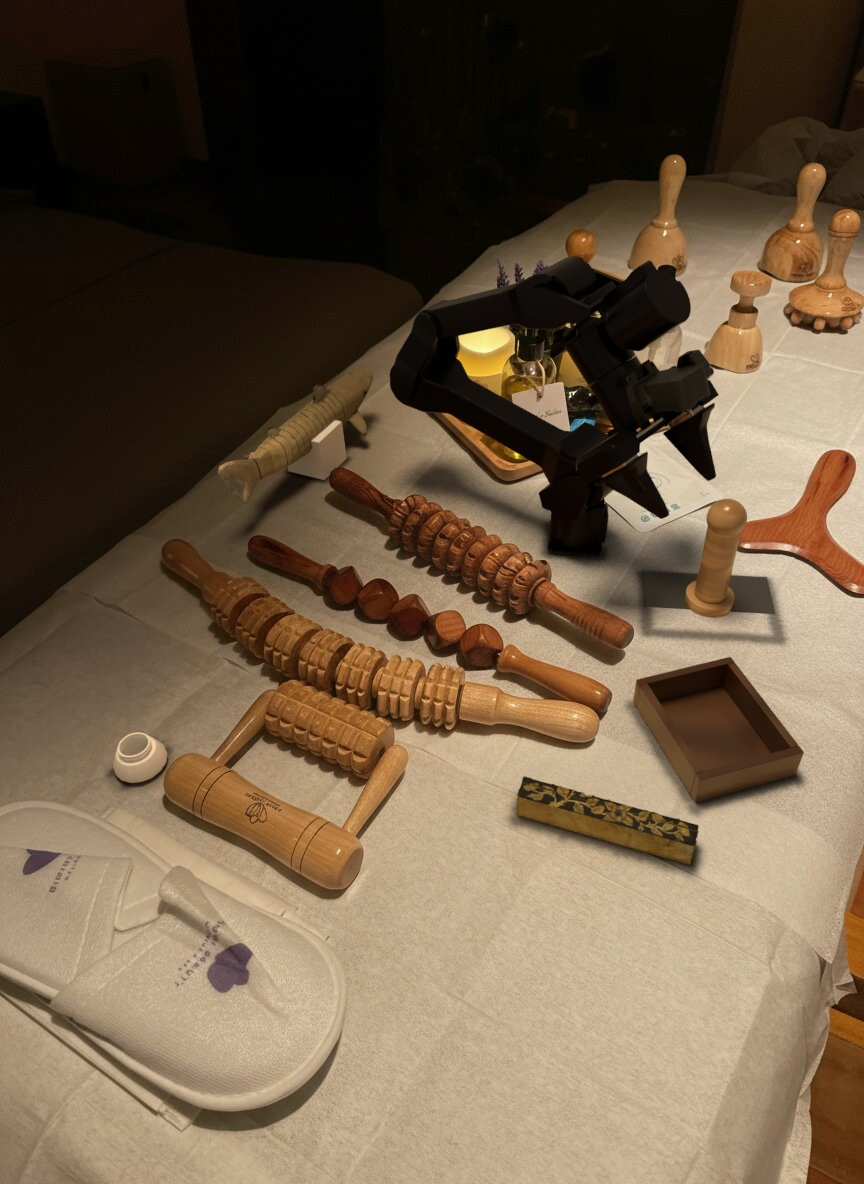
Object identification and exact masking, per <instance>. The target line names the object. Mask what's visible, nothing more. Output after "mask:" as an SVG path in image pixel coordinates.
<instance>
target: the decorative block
mask: <svg viewBox="0 0 864 1184" xmlns="http://www.w3.org/2000/svg"><path fill="white" fill-rule="evenodd" d="M516 816H519V817H523V818H526V819H530V820H532V821H537V822H540V823H544V824H547V825H550V826H554V827H557V828H561V829H564V830H567V831H571V832H575V833H578V834H582V835H585V836H589V837H591V838H595V839H599V840H602V841H606V842H608V843H609V842H610V843H612V844H616V845H620V846H623V847H626V848H630V849H633V850H637V851H640V852H642V853H643V852H644V853H646V854H650V855H653V856H657V857H661V858H664V859H667V860H672V861H675V862H678V863H682V864H685V865H688V866H689V865H691V862H692V860H693V857H694V854H695V850H696V848H697V843H698V841H697V839H698V836H699V833H700V832H699V826H700V825H699V824H695V823H692V822H689V821H685V820H682V819H680V817H676V818H675V817H670V816H668V815H663V814H660V813H658V812H655V811H650V810H647V809H642V808H638V807H635V806H631V805H628V804H623V803H620V802H617V801H612V800H611V799H606V798H602V797H598V796H595V795H594V794H586V793H585V792H583V791H577V790H575V789H572V788H567V787H563V786H562V785H557V784H555V783H549V782H545V781H541V780H538V779H534V778H533V777H529V776H525V775H524V776H522V779H521V783H520V787H519V788H518V791H517V794H516Z"/></svg>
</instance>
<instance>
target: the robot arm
mask: <svg viewBox="0 0 864 1184" xmlns="http://www.w3.org/2000/svg"><path fill="white" fill-rule="evenodd" d="M691 305H692V304H691V299H690V297H689V293H688V291H687V289H686V288H685V286H684V284H683V283H682V281H681V280H677V278H675V277H674V276H673V275H672V274H671V273H669V272H667V271H665V270H662V269H657V268H656V266H655V264H654V263H653V261H652V260H646V261H645V262H643V263H642V264H641V265H639V266H637V267H636V268H635V269H634V270H632V271H631V272H630V273H629V274H628V276H627V277H626V278H625V279H624V280H622V279H620V278H619V277H618V278H617V277H615V276H613V275H611V274H607V273H606V272H603V271H601V270H598V269H596V268H593V267H592V266H591V265H590V263H588V262H587V261H586V260H584V258H583V257H582V256H578V255H570V256H566V257H565V258H563V259H560V260H559V261H557V262H555V263H553V264H551V265H549V266H547V267H545V268H544V269H542V270H540V271H538V272H536V273H534V274H532V275H531V276H529V277H527V278H525V279H523V280H521V281H519V282H516V283H512V284H508V285H504V286H500V287H496V288H492V289H489V290H485V291H484V290H483V291H480V292H477V293H473V294H468V295H465V296H461V297H457V298H453V299H441V300H439V301H437V302H436V303H434V304H432V305H430V306H428V307H426V308H424V309H422V310H420V311H419V312H418V313H417V315H416V316H415V318H414V320H413V323H412V328H411V331H410V333H409V334H408V336H407V337H406V339H405V341H404V343H403V345H402V346H401V347H400V349H399V350H398V353H397V354H396V357H395V360H394V363H393V365H392V367H391V368H390V371H389V387H390V390H391V392H392V394H393V396H394V397H395V399H396V400H397V401H398V402H400V403H401V404H402V405H404V406H406V407H409V408H411V409H414V410H416V411H419V412H422V413H429V414H430V413H432V414H447V415H450V416H452V417H454V418H456V419H457V420H459V421H460V422H463V423H464V424H466V425H468V427H471V428H472V429H475V430H476V431H477V432H480V433H482V434H483V435H485V436H487V437H489V438H490V439H491V440H493V441H495V442H497V443H498V444H500V445H502V446H503V447H505V448H507V449H508V450H511V451H513V452H514V453H516V454H518V455H519V456H521V457H523V458H524V459H526V460H528V461H530V462H531V463H533V464H535V465H536V466H538V467H540V468H541V470H542V472H543V474H544V477H546V479H547V482H548V483H549V484H547V485H546V486H544V487H543V488H542V489H541V490H540V491H539V492H538V497H539V500H540V505H541V507H542V509H544V510H545V511H549V512H550V517H549V518H550V519H549V521H548V538H547V553H548V554H553V555H571V556H574V555H575V556H592V557H594V556H595V557H599V556H601V555H602V553H603V545H602V544H605V543H606V542H607V534H608V527H609V516H610V515H609V504H608V503H607V502H606V501H605V499H606V497H607V496H609V494H611V493H613V491H614V492H616V493H618V494H620V495H622V496H624V497H625V498H627V499H628V500H630V501H632V502H634V503H635V504H636V505H638V506H640V507H641V508H643V509H644V510H646V511H647V512H648V513H650V514H652V515H654V516H655V517H657V518H658V519H661V520H662V519H666V518H667V517H669V516H670V512H669V509H668V507H667V505H666V503H665V500H664V499H663V497H662V495H661V492H660V491H659V489H658V487H657V486H656V484H655V482H654V480H653V478H652V477H651V475H650V473H649V471H648V457H649V453H648V451H646V452H643V453H641V454H640V455H638V454H639V453H640V452H641V443H642V442H644V441H646V440H647V439H648V438H650V437H652V436H653V435H654V434H656V433H657V432H658V431H660V430H661V429H663V428H664V427H669V428H668V429H667V430H665V431H664V432H663V433H662V435H663V436H664V437H665V438H666V439H667V441H669V443H670V444H671V445H672V446H673V447H674V448H675V449H676V450H677V451H678V452H679V453H680V454H681V456H682V457H684V459H685V460H686V461H687V463H689V464H690V465H691V467H693V469H694V470H695V471H696V472H697V473H698V474H699V475H701V476H702V478H703V479H705V481H707V482H710V481H712V480H714V479H715V478H717V473H716V467H715V463H714V459H713V454H712V449H711V444H710V439H709V433H708V432H709V431H708V422H709V419H710V418H711V417H710V416H711V414H712V411H713V410H714V409H715V406H716V403H715V402H712V403H711V404H709V405H707V404H708V403H710V402H711V401H713V400H714V399H715V398H717V397H718V396H719V392H718V391H717V389H716V387H715V386H714V384H713V383H712V381H711V380H710V378H711V377H712V376H713V375H714V373H715V370H714V368H713V367H712V366H711V365H710V362H709V360H708V359H707V358H706V356H705V355H704V354H703V352H702V351H701V350H700V349H693V350H688V351H686V352H684V353H683V354H681V355H679V357H678V358H677V360H676V361H677V362H676V365H672V366H670V367H669V368H667V369H662V370H659V368H658V367H657V366H656V364H655V363H654V361H652V360H650V359H646V360H645V361H644V362H641V361H640V360H639V358H638V356H637V354H636V353H635V352H641V351H645V350H646V349H647V348H649V347H650V346H652V345H653V344H654V343H655V342H657V341H658V340H660V339H661V338H663V337H665V336H667V334H669V333H670V332H672V331H674V330H675V329H677V328H678V327H679V326H681V325H682V324H683V323H685V322H687V320H689V318H690V315H691V310H692V309H691V308H692V306H691ZM596 313H598V314H599V315H600V317H598V316H594V314H596ZM565 324H572V325H573V326H572V327H570V326H569V327H568V326H566V325H565ZM564 325H565V326H564ZM507 326H521V327H522V328H524V329H527V330H555V331H554V332H552V343H551V346H550V350H549V357H550V358H551V359H553V360H554V359H556V358H558V357H559V356H561V355H563V354H565V353H567V354H568V356H569V357H570V359H571V361H572V363H574V365H575V367H576V369H577V370H578V372H579V373H580V375H581V376H582V377H581V378H583V380H584V382H585V384H586V385H587V387H588V388H589V390H590V391H591V393H592V395H590V397H589V398H587V399H586V401H587V403H588V405H589V406H590V408H593V407H595V406H597V405H599V406H600V408H601V410H602V412H603V413H604V414H605V416H606V417H607V419H608V421H609V423H610V424H611V426H612V427H613V428H611V429H610V430H608V431H607V432H604V431H602V430H600V429H599V428H598V427H596V426H595V425H594V424H592V423H589V422H586V421H584V422H582V423H581V424H579V426H577V427H576V428H575V429H573V430H564V429H562V428H559V427H557V426H556V425H554V424H552V423H550V422H548V421H546V420H545V419H544V418H541V417H539V416H538V415H536V414H534V413H532V412H531V411H528V410H527V409H525V408H523V407H521V406H519V405H517V404H516V403H514V402H513V401H510V400H509V399H507V398H505V397H503V396H502V395H499V394H497V393H496V392H494V391H492V390H490V389H488V388H487V387H486V386H483V385H481V384H479V383H477V382H476V381H474V380H473V379H471V378H470V377H469V375H468V373H467V371H466V369H465V367H464V365H463V363H462V361H460V359H459V358H458V356H459V353H460V350H461V345H460V344H461V343H460V338H459V336H464V335H469V334H473V333H479V332H483V331H487V330H493V329H497V328H501V327H507ZM556 329H557V330H556ZM705 405H707V406H705ZM651 419H652V421H651ZM605 502H606V503H605Z"/></svg>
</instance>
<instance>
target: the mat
mask: <svg viewBox="0 0 864 1184" xmlns="http://www.w3.org/2000/svg"><path fill="white" fill-rule="evenodd" d="M697 576H698V573H696V572H695V573H694V572H676V571H675V572H674V571H656V570H655V571H654V570H643V571H642V584H643V596H644V597H643V598H644V607H645V608H654V609H671V610H673V609H674V610H689V611H691V610H690V609H689V608H688V607H687V605H686V603H685V594H686V589H687V587H688V585H689V584H691V583H692V582H694V581H696V580H697ZM728 587H729V588H730V589H731V590H732V591H733V593H734V602H733V606H732V609H731V611H730V612H729V613H744V614H745V613H746V614H759V615H760V614H762V615H763V614H764V615H776V610H775V609H776V608H775V606H774V602H773V597H772V594H771V589H770V584H769V581H768V577H767V576H752V575H735V574H731V578H730V582H729V586H728Z"/></svg>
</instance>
